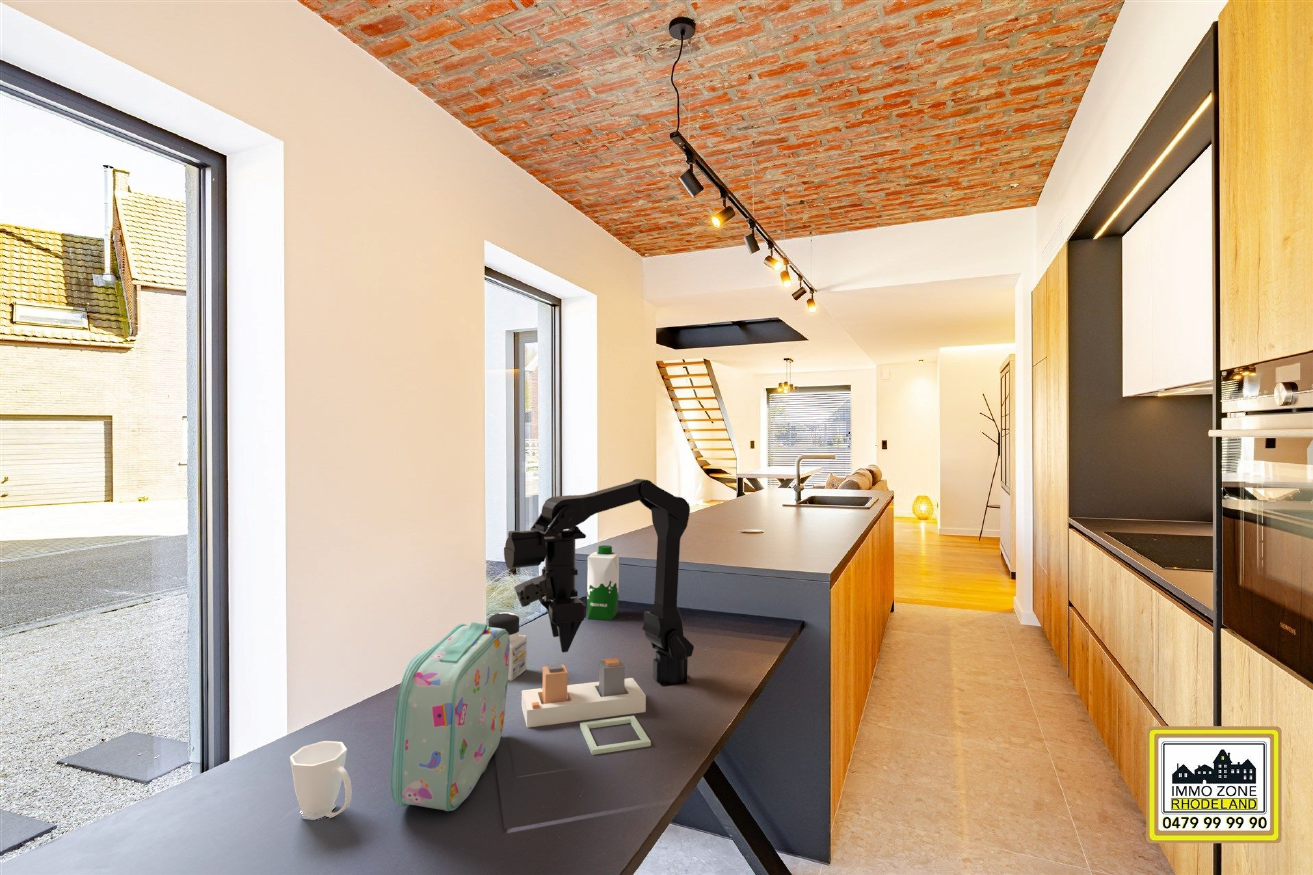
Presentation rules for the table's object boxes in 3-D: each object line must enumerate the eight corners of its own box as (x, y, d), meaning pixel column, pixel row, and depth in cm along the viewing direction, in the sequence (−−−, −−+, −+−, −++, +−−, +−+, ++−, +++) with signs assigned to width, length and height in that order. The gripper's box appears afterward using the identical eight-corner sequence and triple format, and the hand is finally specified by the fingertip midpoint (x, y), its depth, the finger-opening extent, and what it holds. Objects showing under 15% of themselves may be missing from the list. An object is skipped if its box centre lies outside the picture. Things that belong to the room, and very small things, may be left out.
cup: (325, 791, 89) (326, 735, 89) (372, 811, 84) (372, 752, 84) (276, 817, 83) (277, 757, 83) (324, 840, 78) (325, 777, 78)
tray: (633, 722, 112) (634, 715, 112) (650, 748, 102) (650, 741, 102) (579, 729, 109) (580, 722, 109) (592, 757, 99) (592, 750, 99)
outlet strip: (632, 695, 124) (632, 674, 124) (645, 714, 115) (645, 692, 115) (521, 708, 117) (521, 687, 117) (526, 730, 108) (527, 706, 108)
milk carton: (620, 612, 182) (621, 545, 182) (613, 621, 173) (614, 551, 174) (592, 611, 184) (593, 544, 184) (583, 619, 175) (584, 549, 175)
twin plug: (618, 699, 120) (619, 655, 120) (624, 708, 117) (624, 662, 117) (598, 702, 119) (599, 657, 119) (603, 710, 115) (604, 665, 115)
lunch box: (454, 730, 108) (456, 608, 108) (511, 731, 108) (513, 609, 108) (381, 825, 81) (383, 663, 81) (458, 827, 81) (460, 665, 81)
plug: (542, 709, 116) (542, 663, 116) (563, 706, 117) (563, 661, 117) (545, 718, 112) (545, 671, 112) (566, 715, 113) (567, 668, 113)
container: (512, 682, 129) (512, 621, 129) (478, 679, 131) (479, 618, 131) (526, 669, 137) (527, 611, 137) (494, 666, 138) (495, 608, 138)
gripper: (512, 556, 124) (512, 633, 124) (524, 576, 106) (523, 666, 106) (566, 553, 128) (566, 628, 128) (587, 571, 110) (586, 658, 110)
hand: (560, 643), depth 118 cm, fingers open, 9 cm apart
